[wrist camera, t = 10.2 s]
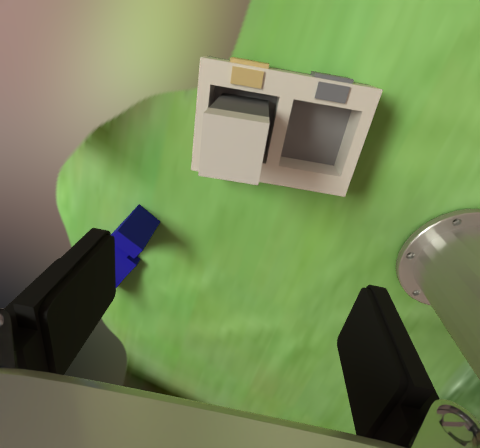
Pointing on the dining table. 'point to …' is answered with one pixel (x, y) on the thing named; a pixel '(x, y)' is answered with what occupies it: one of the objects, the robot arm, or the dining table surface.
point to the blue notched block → (132, 240)
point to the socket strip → (295, 120)
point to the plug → (234, 138)
